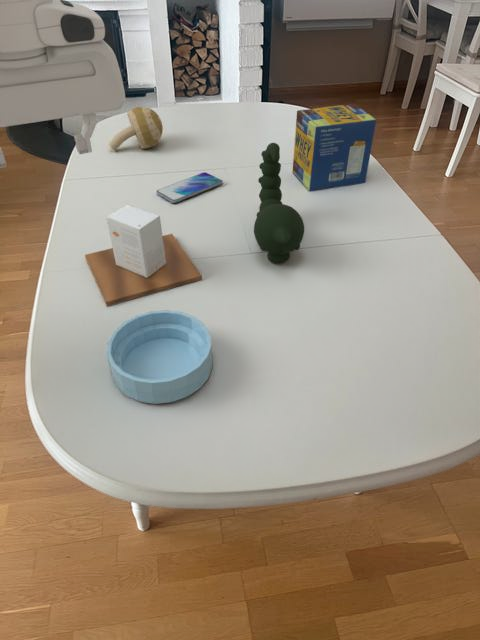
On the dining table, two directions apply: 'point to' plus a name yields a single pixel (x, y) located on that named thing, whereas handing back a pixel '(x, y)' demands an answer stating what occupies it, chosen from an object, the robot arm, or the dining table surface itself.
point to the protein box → (332, 146)
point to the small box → (137, 240)
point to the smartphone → (189, 187)
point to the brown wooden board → (130, 285)
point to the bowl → (160, 356)
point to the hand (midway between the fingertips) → (43, 158)
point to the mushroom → (140, 128)
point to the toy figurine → (276, 213)
